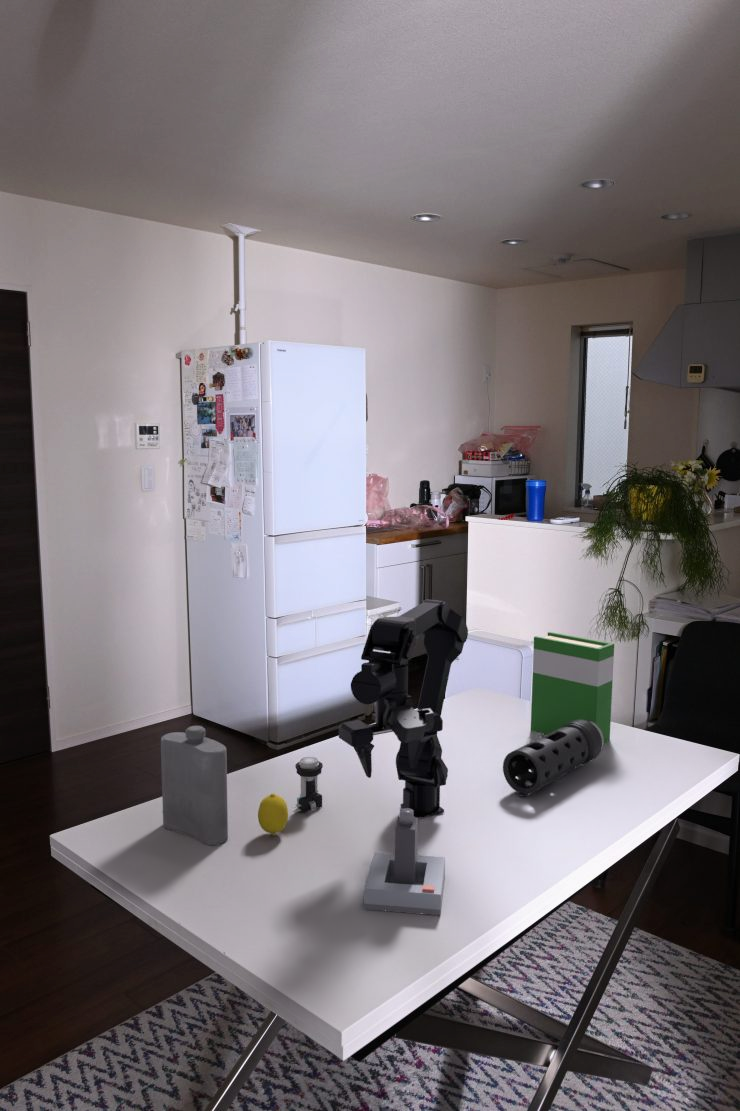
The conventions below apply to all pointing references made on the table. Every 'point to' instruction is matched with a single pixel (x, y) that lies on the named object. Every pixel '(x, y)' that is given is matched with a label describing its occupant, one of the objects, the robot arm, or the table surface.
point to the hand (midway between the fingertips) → (390, 772)
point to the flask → (195, 785)
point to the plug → (406, 848)
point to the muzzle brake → (552, 756)
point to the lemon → (273, 814)
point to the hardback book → (571, 682)
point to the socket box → (405, 886)
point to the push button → (308, 784)
